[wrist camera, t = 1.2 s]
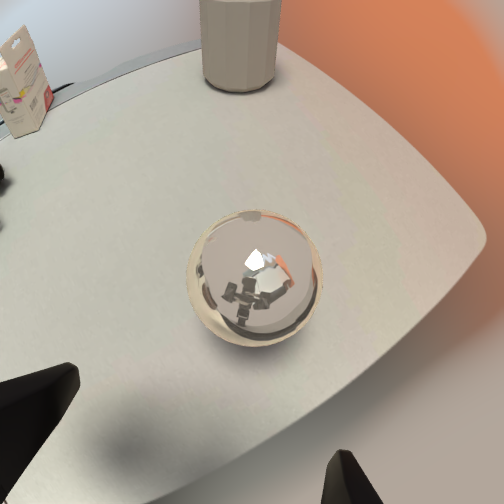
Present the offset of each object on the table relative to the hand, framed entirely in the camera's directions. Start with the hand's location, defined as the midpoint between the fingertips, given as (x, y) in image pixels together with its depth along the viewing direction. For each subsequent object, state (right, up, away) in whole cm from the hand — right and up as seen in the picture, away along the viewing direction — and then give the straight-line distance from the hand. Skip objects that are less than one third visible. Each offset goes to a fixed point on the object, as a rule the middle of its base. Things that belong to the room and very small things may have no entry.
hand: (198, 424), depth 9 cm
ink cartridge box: (-31, +25, +27) cm, 48 cm away
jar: (0, +29, +31) cm, 42 cm away
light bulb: (+1, 0, +15) cm, 15 cm away
